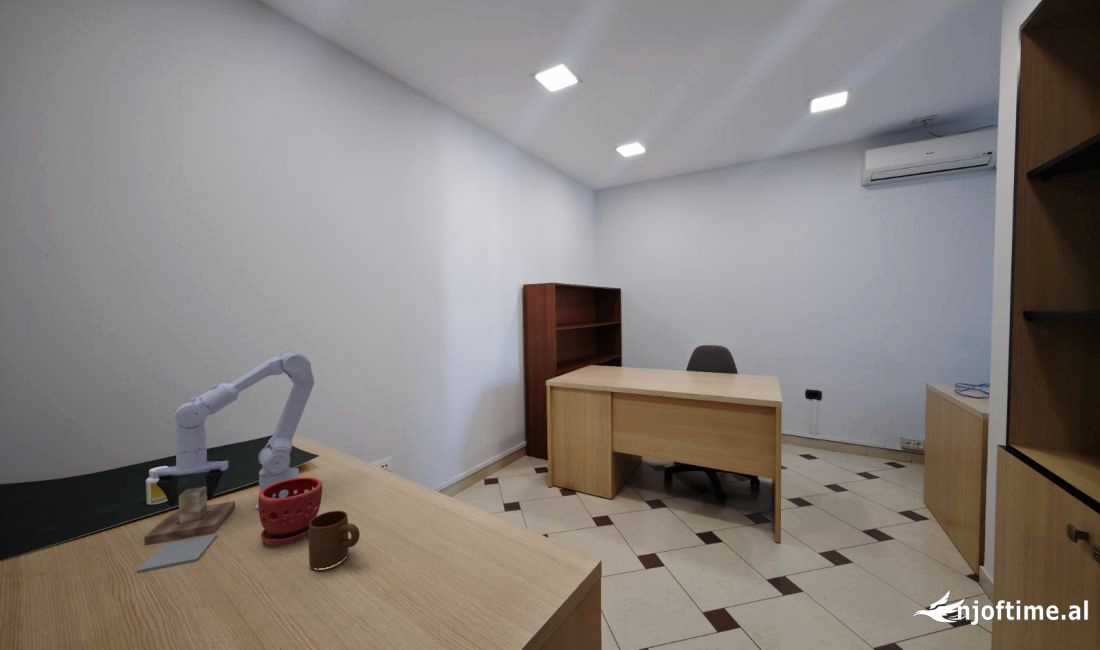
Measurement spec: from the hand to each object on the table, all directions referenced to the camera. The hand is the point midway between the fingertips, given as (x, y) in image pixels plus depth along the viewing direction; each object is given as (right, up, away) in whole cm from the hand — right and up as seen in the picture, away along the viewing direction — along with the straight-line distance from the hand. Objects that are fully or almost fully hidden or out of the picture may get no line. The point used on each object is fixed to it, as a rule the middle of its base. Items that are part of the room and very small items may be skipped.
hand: (192, 501), depth 98 cm
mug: (+46, -7, -15) cm, 49 cm away
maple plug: (0, -6, 0) cm, 6 cm away
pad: (+8, -7, -12) cm, 16 cm away
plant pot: (+29, -7, -4) cm, 30 cm away
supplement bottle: (-23, -7, +14) cm, 27 cm away
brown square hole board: (0, -6, 0) cm, 6 cm away
